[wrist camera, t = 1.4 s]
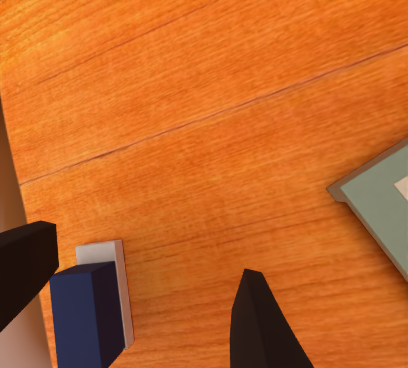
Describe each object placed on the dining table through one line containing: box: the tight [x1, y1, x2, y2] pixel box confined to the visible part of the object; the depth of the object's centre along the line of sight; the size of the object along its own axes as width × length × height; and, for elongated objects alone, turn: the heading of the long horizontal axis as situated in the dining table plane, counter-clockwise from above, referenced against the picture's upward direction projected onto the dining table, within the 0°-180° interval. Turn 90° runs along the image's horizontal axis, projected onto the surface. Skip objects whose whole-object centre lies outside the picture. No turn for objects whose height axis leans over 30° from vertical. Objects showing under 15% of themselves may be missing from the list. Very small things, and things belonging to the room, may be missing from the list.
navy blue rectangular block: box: [49, 239, 134, 368], centre depth 19 cm, size 9×4×4 cm, turn 9°
